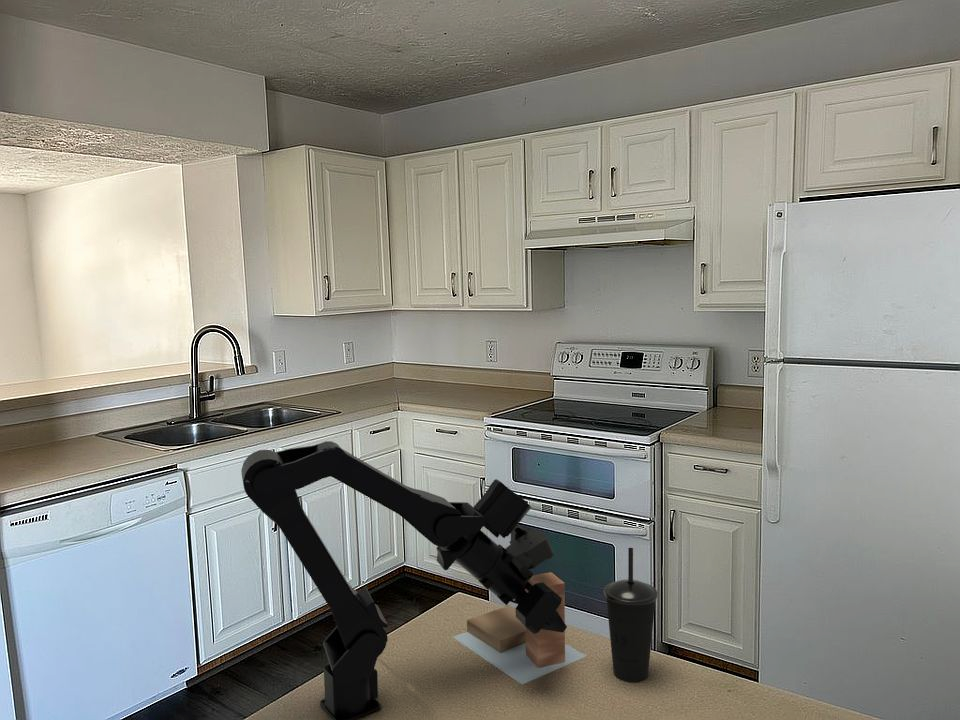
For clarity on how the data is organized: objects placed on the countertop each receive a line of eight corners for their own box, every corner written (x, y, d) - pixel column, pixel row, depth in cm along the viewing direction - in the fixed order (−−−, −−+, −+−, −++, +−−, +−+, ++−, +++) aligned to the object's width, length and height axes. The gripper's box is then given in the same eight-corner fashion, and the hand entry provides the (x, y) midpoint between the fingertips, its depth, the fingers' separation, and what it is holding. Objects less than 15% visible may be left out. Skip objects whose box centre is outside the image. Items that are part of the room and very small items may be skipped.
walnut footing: (500, 652, 113) (500, 640, 113) (467, 631, 120) (466, 620, 120) (543, 635, 118) (543, 624, 118) (509, 616, 125) (509, 605, 125)
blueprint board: (522, 690, 104) (522, 684, 104) (452, 642, 118) (452, 636, 118) (587, 662, 111) (587, 655, 111) (514, 620, 126) (513, 614, 126)
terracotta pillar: (538, 668, 108) (537, 587, 107) (525, 654, 112) (524, 576, 111) (565, 662, 110) (564, 582, 108) (551, 648, 114) (551, 572, 113)
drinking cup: (612, 661, 111) (612, 536, 109) (662, 672, 108) (662, 543, 106) (597, 686, 105) (597, 553, 103) (650, 699, 101) (651, 561, 99)
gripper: (548, 537, 99) (617, 600, 104) (496, 500, 116) (557, 556, 121) (495, 602, 97) (569, 664, 102) (450, 555, 114) (515, 610, 119)
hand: (552, 618), depth 111 cm, fingers open, 7 cm apart
